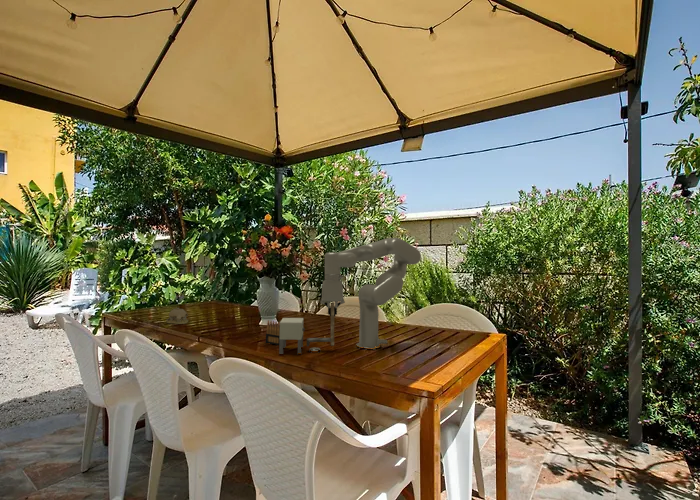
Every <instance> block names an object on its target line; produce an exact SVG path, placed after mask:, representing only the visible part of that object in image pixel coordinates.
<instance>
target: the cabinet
mask: <svg viewBox="0 0 700 500" xmlns="http://www.w3.org/2000/svg"><path fill="white" fill-rule="evenodd" d="M279 323H280V340H279V346H278V347H279V349H278V355H279V354H283V355H284V349H283V348H285V347H286V348H287V340H296V341H297V354H298V353H301V354H302V349H301V347H303V348H304V332H305V327H304V317H282V319H281V320H280V321H279Z"/></svg>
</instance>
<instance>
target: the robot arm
mask: <svg viewBox="0 0 700 500" xmlns="http://www.w3.org/2000/svg"><path fill="white" fill-rule="evenodd" d="M389 255H393V264H392V265H391V266H390V268H389V269H387V270H385V272H382V273H381V274H380V275H379V276H378V277H377V278H376V279H375V281H374V284H371V283H367V284H363V285H362V286H361V287H360V288H359V290H358V295H357V297H358V302H359V331H358V333H359V334H358V335H359V338H358V341H359V342H357V343H355V346H356V345H357V346H359V347H364V348H374V347H375V346H376V347H377V346H379V344H381V345H382V344H384V345H387V344H388V339H380V338H379V315H380V314H379V313H380V312H379V307H378V306H382V305H385V304H386V303H387V302H389V301H390V300H391V299H392V298H394V297H395V296H396V295H398V294H399V293H400V292H401V291H402V289H403V286H404V278H405V277H406V274H407V265H410V266H411V265H416V264H419V262H420V261H421V259H422V258H421V252H420V250H419V249H418V248H416V247H415V246H413V245H412V244H411V243H409V242H407V241H406V240H404V239H402V238H400V237H387V238H383V239H381V240H377V241H374V242H371V243H367V244H363V245H360V246H356V247H352V248H348V249H345V250H342V251H338V252H333V251H332V252H326V253H325V254H324V280H322V284H321V285H322V286H321V298H320V302H319V303H320V304H322V305H324V306H325V307H326V308H327V315H329V317H330V318H331V303H334V318H336V315H338V307H339V306H340V305H343V304H345V303H346V301H345V300H344V287H343V281H342V280H341V279H344V275H341V268H353V267H354V266H356V264H357V263H359V262H370V261H373V260H374V261H375V260H377V259H380V258H383V257H386V256H389Z"/></svg>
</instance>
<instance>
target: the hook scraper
mask: <svg viewBox="0 0 700 500" xmlns="http://www.w3.org/2000/svg"><path fill="white" fill-rule="evenodd" d="M330 306H331V317H330V337H308V338H306V347H310V345H311V343H326V342H327V343H328V342H329V343H330V346H331V347H332V346H335V317H334V306H335V302H330Z"/></svg>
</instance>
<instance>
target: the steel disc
mask: <svg viewBox="0 0 700 500" xmlns="http://www.w3.org/2000/svg"><path fill="white" fill-rule="evenodd" d="M310 350H311V351H318V350H320V351H321V348H320V347H310V348H309V351H310Z"/></svg>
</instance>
